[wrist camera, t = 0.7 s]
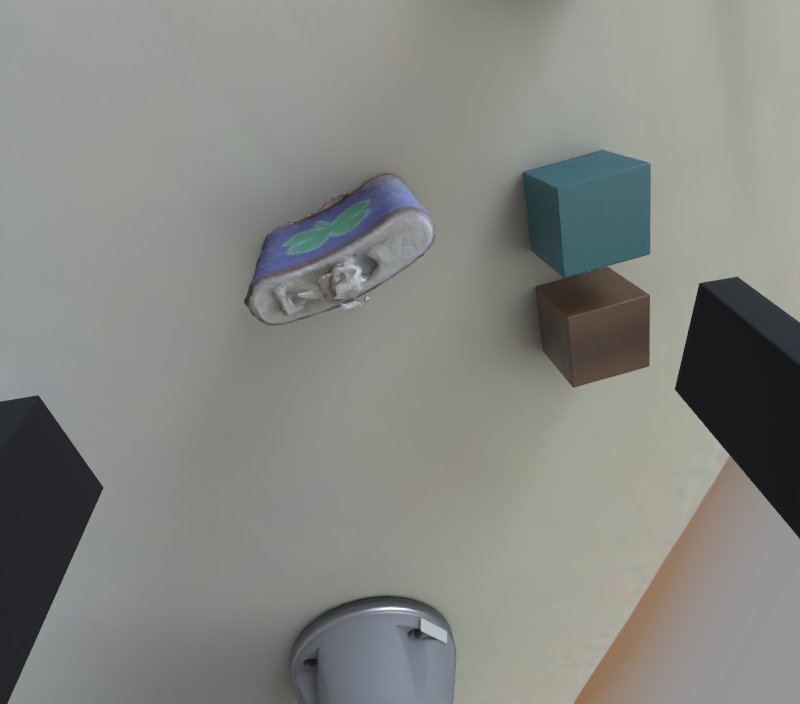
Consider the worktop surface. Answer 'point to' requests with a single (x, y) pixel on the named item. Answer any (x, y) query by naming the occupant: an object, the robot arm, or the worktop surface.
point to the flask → (339, 252)
